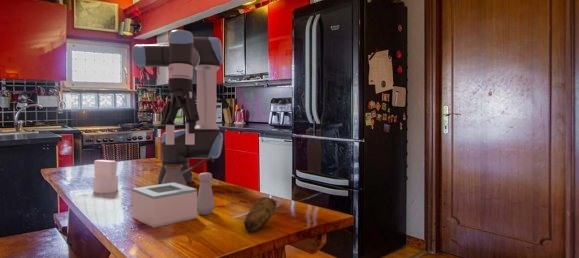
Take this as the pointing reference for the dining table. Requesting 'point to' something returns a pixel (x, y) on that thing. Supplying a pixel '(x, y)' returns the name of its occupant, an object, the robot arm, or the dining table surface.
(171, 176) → the coffee pot
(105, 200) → the dining table surface
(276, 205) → the fork
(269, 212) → the potato
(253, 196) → the dining table surface
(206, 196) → the salt shaker
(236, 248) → the dining table surface
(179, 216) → the drop box
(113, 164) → the base with upright slab
